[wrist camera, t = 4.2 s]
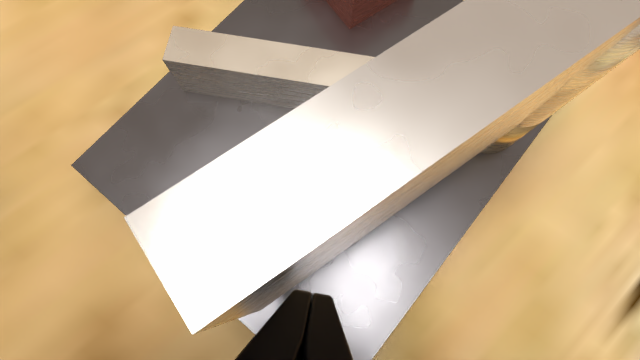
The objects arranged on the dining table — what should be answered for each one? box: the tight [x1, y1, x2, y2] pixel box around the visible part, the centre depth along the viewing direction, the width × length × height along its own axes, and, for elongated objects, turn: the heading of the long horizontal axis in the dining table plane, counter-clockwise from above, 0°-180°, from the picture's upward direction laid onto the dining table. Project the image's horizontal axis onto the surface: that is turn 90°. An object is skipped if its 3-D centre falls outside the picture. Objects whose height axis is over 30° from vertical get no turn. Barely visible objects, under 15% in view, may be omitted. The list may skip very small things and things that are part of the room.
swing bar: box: [124, 0, 640, 335], centre depth 10 cm, size 13×3×7 cm, turn 125°
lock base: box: [71, 0, 552, 360], centre depth 16 cm, size 17×14×4 cm
